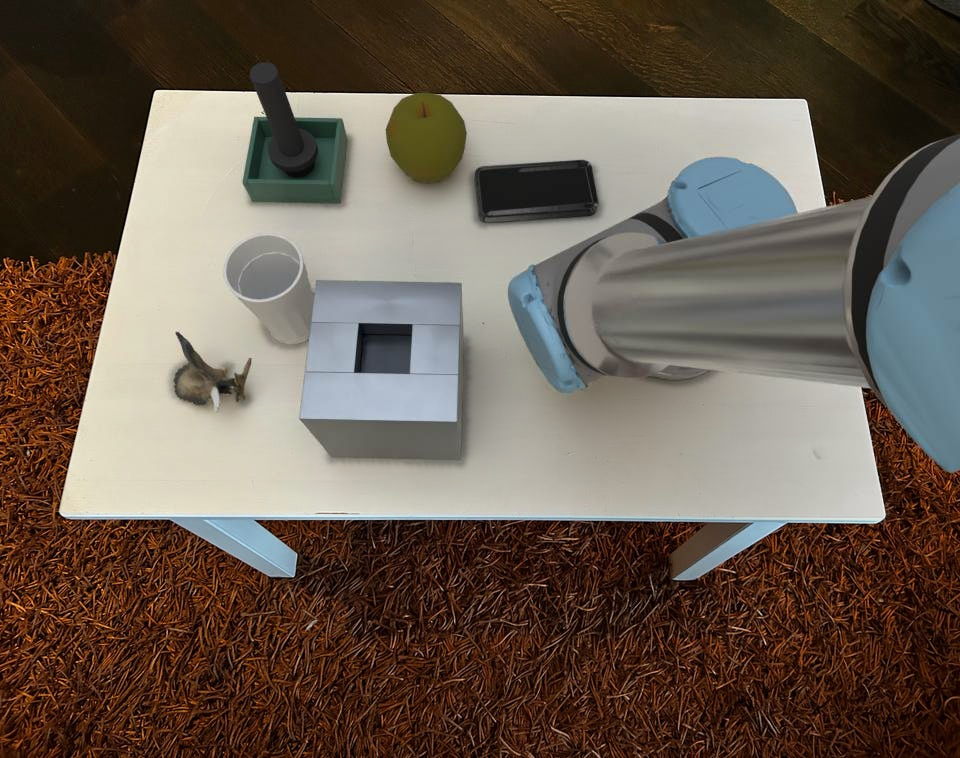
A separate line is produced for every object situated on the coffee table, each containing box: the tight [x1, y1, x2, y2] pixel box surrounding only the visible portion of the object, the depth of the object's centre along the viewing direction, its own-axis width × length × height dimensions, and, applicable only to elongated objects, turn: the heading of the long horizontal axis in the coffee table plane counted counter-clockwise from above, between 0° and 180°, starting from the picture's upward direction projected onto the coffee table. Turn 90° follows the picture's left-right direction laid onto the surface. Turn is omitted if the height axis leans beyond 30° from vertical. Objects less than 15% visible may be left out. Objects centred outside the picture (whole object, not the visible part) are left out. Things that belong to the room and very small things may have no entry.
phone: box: [474, 159, 599, 223], centre depth 82 cm, size 8×1×15 cm
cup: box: [222, 232, 315, 345], centre depth 71 cm, size 8×8×12 cm
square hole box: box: [298, 279, 465, 461], centre depth 66 cm, size 14×14×14 cm
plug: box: [249, 61, 318, 178], centre depth 76 cm, size 6×6×15 cm
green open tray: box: [241, 116, 348, 204], centre depth 82 cm, size 11×10×4 cm
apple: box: [385, 91, 468, 184], centre depth 79 cm, size 10×10×11 cm
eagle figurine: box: [173, 331, 252, 413], centre depth 71 cm, size 8×7×9 cm
